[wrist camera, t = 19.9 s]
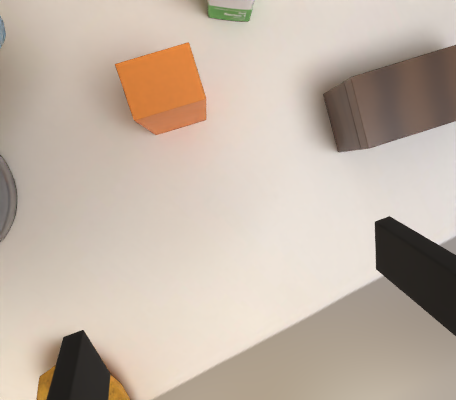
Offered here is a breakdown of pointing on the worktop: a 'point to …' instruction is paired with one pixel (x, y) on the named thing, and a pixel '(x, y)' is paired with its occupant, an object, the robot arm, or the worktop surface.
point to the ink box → (230, 9)
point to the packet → (164, 89)
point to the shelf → (394, 101)
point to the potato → (116, 391)
